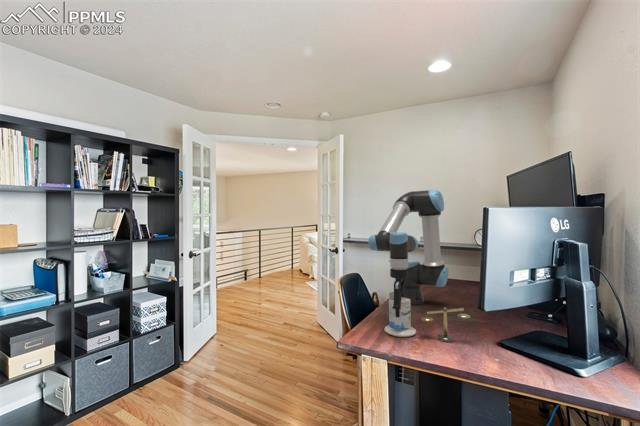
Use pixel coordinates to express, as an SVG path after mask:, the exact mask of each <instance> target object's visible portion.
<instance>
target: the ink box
mask: <svg viewBox="0 0 640 426" xmlns="http://www.w3.org/2000/svg"><path fill="white" fill-rule="evenodd" d="M388 296H389V297H388V323H389V324H388V325H389V327H391V328H393V329H396V330H400V329H403V328H407V327H410V326H411V327H412V325H411V324H412V321H411V319H412V315H411V313H412V312H411V311H412V309H411V308H412V307H411V306H412V305H411V300H410V299H407V298H404V297H401V319H402V325H396V324H395V315H394V309H393V308H392V307H393V306H394V291H390V292H389V293H388ZM396 306H398V305H396Z"/></svg>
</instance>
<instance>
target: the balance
mask: <svg viewBox="0 0 640 426" xmlns="http://www.w3.org/2000/svg"><path fill="white" fill-rule="evenodd" d="M464 311H465V308H464V307H460V308H451V309H448V308H447V307H446V306H445V307H443V308H442V309H440V310H431V311H430V310H429V311H426V314H427V315H431V314H432V315H433V314H442V319H443V321H442V322H443V324H442V325H443V333H441V334H440V333H439V334H437V339H438V340H439V341H440V342H444V343H454V341H455V338H454V337H455V336H453V335H451V334H448V313H451V312H453V313H455V312H464ZM457 317H458V318H461V319H470V318H471V315H470V314H467V313H458V314H457ZM421 320H422V321H424V322H433V321H434V318H432V317H430V316H423V317H421Z"/></svg>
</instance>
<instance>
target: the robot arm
mask: <svg viewBox="0 0 640 426" xmlns="http://www.w3.org/2000/svg"><path fill="white" fill-rule="evenodd" d="M444 209H445V202H444V197H443V194H442V193H441V191H439V190H436V189H434V190H433V189H430V190H429V189H428V190H426V189H425V190H415V191H414V190H413V191H409V192H406V193H405V194H402V196H400V197H399V198H398V199H396V201H395V202H394V203H393V206H392V210H391V212H390V213H389V215H388V217H387V218H386V220H385V222H384V223H383V225H382V227H381V228H380V230H379V231H378V233H377V234H374V235H373V234H372V235H370V236H369V238H368V247H369V249H370V250H371V251H376V252H377V251H378V252H389V260H388V262H389V264H390V265H389V266H390V273H389V274H390V278H391V279H394V282H393V292H394V306H393V307H392V308H393V309H394V315H395V324H396V325H402V319H401V297H404V298H407V299H410V300H411V306H415V305H416V306H417V305H423V304H424V303H425V298H424V295H423V292H422V289H421V288H422V287H421V286H427V287H434V288H437V287H438V288H443V287H445V286H446V285H447V282H448V279H449V278H448V277H449V267H448V266H447V265H445V262H444V261H443V260H442V254H441V239H440V225H439V224H440V223H439V217H441V215H442V212H443V211H444ZM410 213H418V217H420V218H421V228H422V240H423V251H424V252H423V254H424V260H423V261H422V264H421V262H420V261H417V260H416V261H413V260H412V261H409V253H412V252H414V251H415V250H416V249H417V248H418V246H419V242H418V239H417V238H416V237H415V236H414V235H411V234H410V235H409V234H408V232H405V231H402V232H401V231H399V229H400V227H401V225H402V223H403V221H404V220H405V217H407V216H408V215H409V214H410ZM396 305H398V306H396Z"/></svg>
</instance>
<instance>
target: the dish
mask: <svg viewBox="0 0 640 426" xmlns="http://www.w3.org/2000/svg"><path fill="white" fill-rule="evenodd" d="M384 332H385V333H386V334H388V335H390V336H392V337H396V338H397V337H398V338H410V337H412V336H415V335H416V334H417V330H416V329H415V328H414V327H412V325H411V326H410V327H407V328H403V329H400V330H396V329H393V328H391V327H389V324H387V325H386V326H385V327H384Z"/></svg>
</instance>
